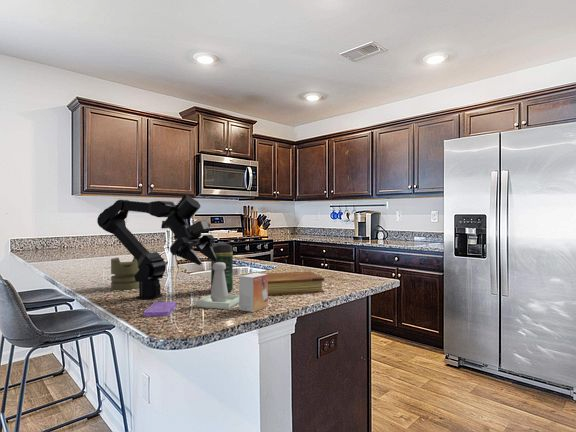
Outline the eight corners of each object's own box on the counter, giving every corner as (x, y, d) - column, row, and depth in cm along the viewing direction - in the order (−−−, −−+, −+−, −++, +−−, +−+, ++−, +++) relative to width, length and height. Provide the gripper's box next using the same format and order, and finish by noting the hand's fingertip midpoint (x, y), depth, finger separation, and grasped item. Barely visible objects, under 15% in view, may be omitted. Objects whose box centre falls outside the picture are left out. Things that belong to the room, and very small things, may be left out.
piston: (142, 259, 144) (110, 260, 139) (142, 289, 144) (110, 292, 139) (140, 256, 154) (111, 257, 149) (140, 284, 154) (111, 286, 149)
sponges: (143, 318, 104) (143, 311, 104) (154, 307, 117) (154, 301, 117) (168, 317, 105) (168, 311, 105) (176, 306, 118) (176, 300, 118)
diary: (309, 284, 154) (309, 271, 154) (324, 293, 136) (324, 278, 136) (256, 286, 149) (256, 272, 149) (264, 296, 131) (264, 280, 131)
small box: (253, 312, 108) (252, 277, 108) (238, 310, 111) (238, 275, 111) (268, 307, 114) (268, 273, 114) (254, 304, 117) (254, 272, 117)
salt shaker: (217, 305, 115) (217, 264, 115) (206, 302, 119) (206, 262, 119) (231, 301, 119) (231, 262, 119) (220, 299, 123) (220, 261, 123)
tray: (195, 306, 115) (195, 301, 115) (213, 298, 126) (213, 293, 126) (228, 309, 112) (228, 303, 112) (243, 300, 123) (243, 295, 123)
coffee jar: (235, 292, 137) (234, 243, 137) (214, 294, 134) (213, 243, 134) (229, 287, 146) (229, 241, 146) (209, 289, 143) (209, 242, 143)
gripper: (177, 212, 114) (207, 248, 110) (210, 212, 131) (237, 243, 127) (157, 236, 116) (185, 272, 113) (191, 233, 134) (217, 265, 130)
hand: (208, 262), depth 121 cm, fingers open, 9 cm apart
